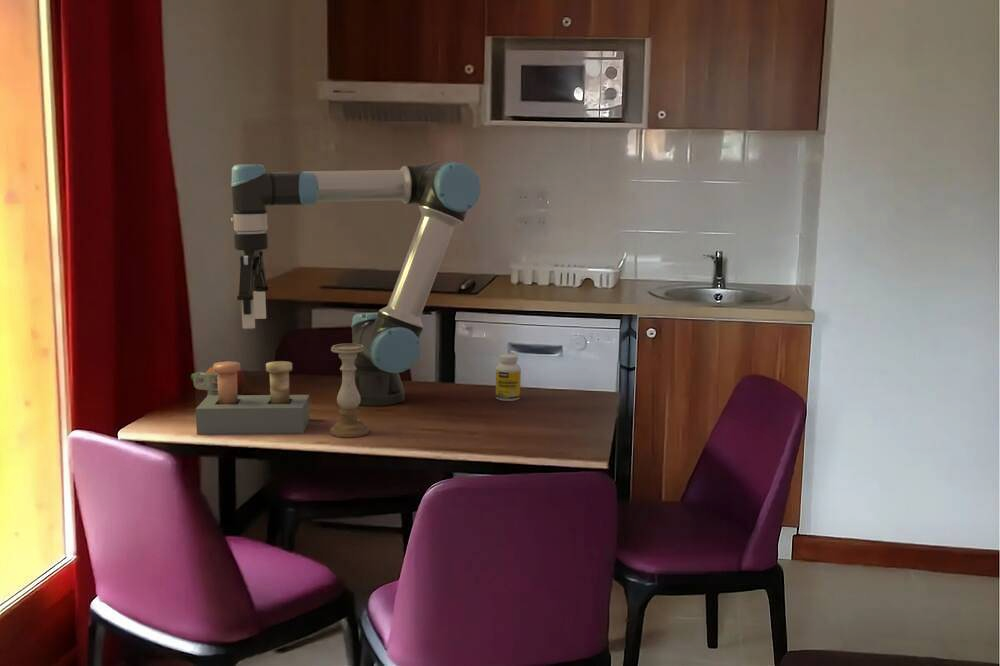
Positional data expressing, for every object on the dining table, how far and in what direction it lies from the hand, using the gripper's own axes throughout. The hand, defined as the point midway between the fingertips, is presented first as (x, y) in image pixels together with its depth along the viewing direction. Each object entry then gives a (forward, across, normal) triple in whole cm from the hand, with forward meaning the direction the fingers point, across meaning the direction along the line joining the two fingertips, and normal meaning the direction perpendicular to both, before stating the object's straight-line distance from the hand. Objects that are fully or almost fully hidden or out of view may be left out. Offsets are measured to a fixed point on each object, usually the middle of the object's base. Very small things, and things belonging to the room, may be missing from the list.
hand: (254, 323), depth 238 cm
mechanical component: (+24, -9, -13) cm, 29 cm away
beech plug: (+19, +3, +6) cm, 20 cm away
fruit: (+24, -26, -14) cm, 38 cm away
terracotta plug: (+18, +3, -6) cm, 20 cm away
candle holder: (+24, +9, +22) cm, 34 cm away
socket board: (+24, +3, 0) cm, 24 cm away
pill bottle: (+25, -25, +60) cm, 70 cm away
